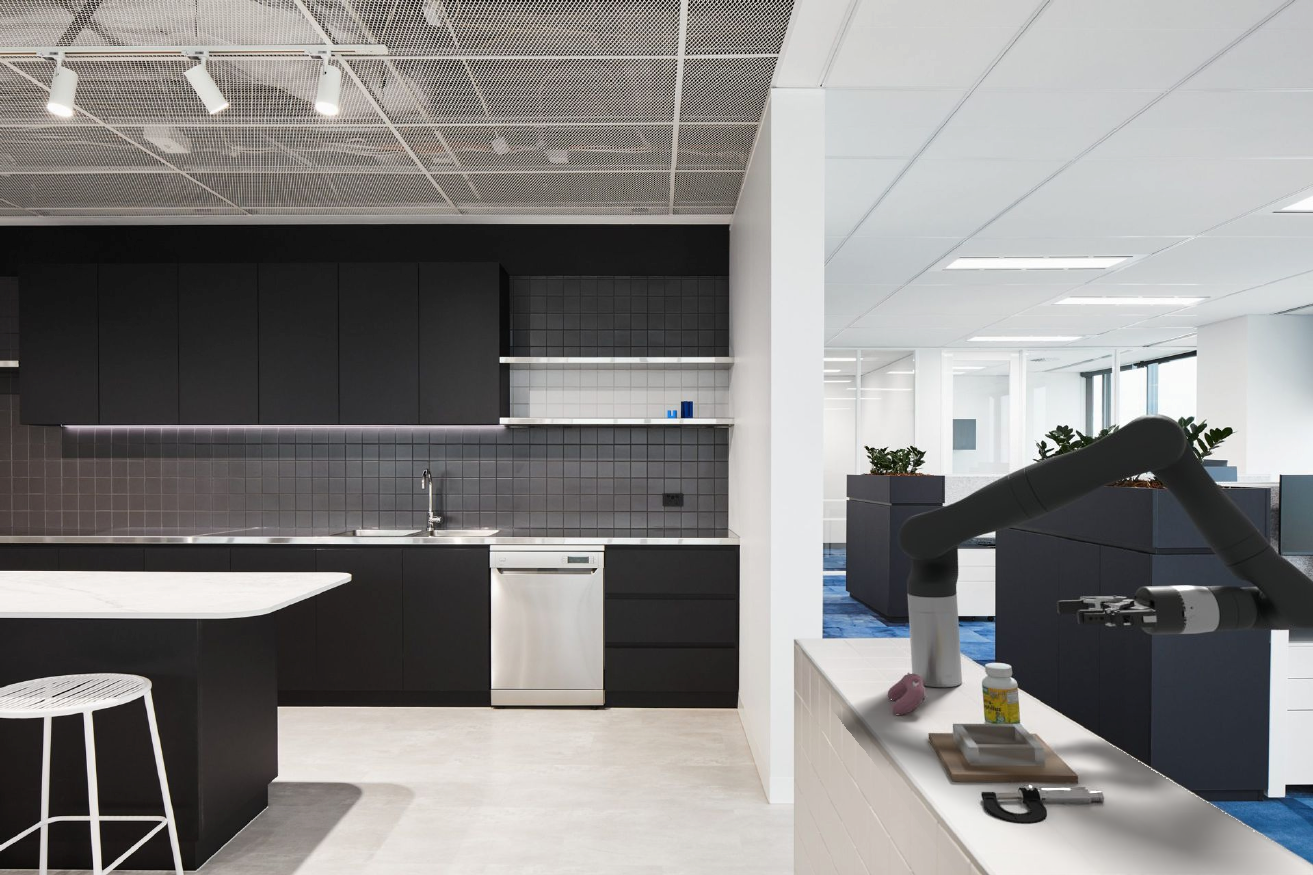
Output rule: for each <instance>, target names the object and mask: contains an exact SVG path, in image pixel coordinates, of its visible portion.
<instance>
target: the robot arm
mask: <svg viewBox="0 0 1313 875" xmlns="http://www.w3.org/2000/svg"><path fill="white" fill-rule="evenodd" d="M1185 432H1186V431H1185V429H1183V427H1182V425H1181V424H1180V423H1179V422H1178V421H1177V420H1175V419H1174V418H1172V417H1170V416H1167V415H1165V414H1159V413H1158V414H1157V413H1152V414H1151V413H1150V414H1145V415H1141V416H1139V417H1135V418H1134V419H1132V420H1131V421H1129V422H1128V423H1127V424H1125V425H1124V426H1122V427H1120V428H1118V429H1116V430H1115V431H1113V432H1111V433H1109V434H1108V435H1106V436H1104V437H1102V438H1101V439H1098V440H1096V441H1094V442H1093V443H1090V444H1088V445H1086V446H1084V447H1081V448H1078V449H1076V450H1073V451H1068V452H1067V453H1066V452H1065V453H1063V454H1059V455H1054V456H1052V457H1048V458H1045V459H1043V460H1040V461H1037V462H1034V463H1032V464H1029V465H1027V466H1024V467H1022V468H1020V469H1017V470H1016V471H1013V472H1011V473H1008V474H1007V475H1004V476H1002V477H1001V478H999V479H997V480H995V481H993V482H990V483H989V484H986V485H985V486H983V487H981V488H978V490H976V491H974V492H972V493H971V494H969V495H968V496H966V497H963V498H962V499H960V500H958V501H955V502H954V503H951V504H948V505H944V506H942V507H938V508H936V509H933V510H930V511H925V512H921V513H919V514H915V515H914V514H913V515H912V516H909V517H908V518H907V519H906V520H905V521H904V522H903V524H902V525H901V527H900V528H899V531H898V535H897V540H898V541H897V542H898V545H899V547H900V550H901V552H903V553H904V554H905V555H906V556H908V557H909V558H911V569H910V573H909V576H908V577H907V580H906V590H907V605H908V606H907V608H908V621H909V622H908V623H909V638H910V640H909V641H910V655H911V658H910V659H911V672H912V673H911V674H916V675H919V676H920V677H921V678H922V680H923V686H924V687H933V688H950V687H957V686H960V685H961V684H962V683H963V674H962V658H961V657H962V656H961V642H960V641H961V639H960V626H959V624H960V623H959V609H958V595H957V593H958V592H957V583H958V579H959V550H958V549H959V545H961V544H963V543H965V542H967V541H970V540H972V539H975V538H976V537H977V538H978V537H980V536H982V535H987V534H991V533H994V532H998V531H1002V530H1003V531H1004V530H1005V529H1009V528H1012V527H1016V526H1019V525H1022V524H1026V523H1028V522H1032V521H1034V520H1037V519H1039V518H1042V517H1045V516H1047V515H1050V514H1052V513H1054V512H1056V511H1059V510H1061V509H1062V508H1064V507H1067V506H1069V505H1071V504H1073V503H1075V502H1077V501H1079V500H1081V499H1083V498H1085V497H1086V496H1088V495H1090V494H1092V493H1093V492H1096V491H1097V490H1099V489H1101V488H1104V487H1106V486H1108V485H1111V484H1114V483H1118V482H1119V481H1124V480H1127V479H1129V478H1133V477H1137V476H1140V475H1143V474H1147V473H1151V474H1152V475H1153V476H1154V477H1155V478H1156V479H1157V480H1158V481H1160V483H1161V484H1162V485H1163V486H1164V487H1165V488H1166V489H1168V491H1169V492H1170V493H1171V494H1172V496H1173V497H1174V498H1175V499H1176V502H1177V501H1178V503H1179V505H1180V507H1181V508H1182V509H1183V510H1184V512H1185V513H1186V515H1187V516H1188V518H1189V519H1190V521H1191V523H1192V524H1193V526H1194V527H1195V529H1196V530H1197V531H1198V533H1199V535H1200V536H1201V537H1202V539H1203V540H1204V541H1205V543H1206V545H1208V547H1209V548H1210V549H1211V550H1212V552H1213V553H1214V555H1216V556H1217V558H1218V559H1219V561H1221V563H1222V564H1223V565H1224V566H1225V568H1226V569H1227V570H1228V571H1229V572H1230V574H1231V575H1233V576H1234V577H1235V578H1237V579H1238V580H1242V581H1245V582H1248V583H1251V584H1252V585H1253V586H1247V587H1246V586H1245V587H1240V586H1235V585H1210V586H1209V585H1207V586H1205V585H1204V586H1203V585H1202V586H1201V585H1187V584H1186V585H1185V584H1184V585H1157V586H1156V585H1152V586H1150V585H1149V586H1140V587H1139V588H1138V589H1137V590H1136V592H1135V594H1134V595H1135V596H1134V597H1133V599H1129V598H1128V597H1127V596H1117V595H1109V596H1108V595H1107V596H1106V595H1105V596H1103V595H1102V596H1101V595H1100V596H1095V595H1094V596H1092V595H1091V596H1086V595H1082V596H1080V597H1079V599H1071V600H1067V599H1066V600H1057V601H1056V608H1057V609H1056V610H1057V613H1058V614H1060V615H1076V619H1077V623H1078V624H1079V625H1082V626H1085V625H1086V626H1090V625H1091V626H1092V625H1093V626H1094V625H1096V626H1098V625H1105V626H1108V627H1115V628H1116V629H1119V630H1120V629H1121V630H1122V629H1134V628H1136V629H1137V628H1138V629H1139V628H1141V629H1142V630H1143V631H1144V632H1145V633H1147V634H1148V635H1182V634H1183V635H1184V634H1185V635H1187V634H1189V635H1190V634H1193V635H1194V634H1203V633H1208V632H1209V633H1210V632H1211V633H1213V632H1237V631H1245V630H1256V631H1257V630H1258V631H1259V630H1261V631H1292V630H1293V631H1297V630H1298V631H1300V630H1301V631H1302V630H1313V579H1312V578H1310V577H1309V576H1307V575H1306V574H1305V573H1304V572H1302V571H1301V569H1299V568H1298V567H1297V566H1296V565H1294V564H1293V563H1292V562H1291V561H1289V560H1288V559H1286V558H1285V557H1283V556H1282V555H1280V554H1279V553H1278V552H1277V551H1276V549H1275V548H1274V547H1273V545H1272V544H1271V543H1270V542H1269V541H1268V539H1267V538H1266V537H1265V536H1264V535H1263V533H1261V531H1260V530H1259V529H1258V528H1257V526H1256V525H1255V524H1254V523H1253V522H1252V521H1251V519H1250V518H1249V517H1248V516H1247V515H1246V514H1245V513H1244V512H1243V511H1242V509H1241V508H1239V506H1238V505H1237V504H1236V503H1235V502H1234V500H1232V499H1231V498H1230V497H1229V496H1228V495H1227V494H1226V492H1225V491H1224V490H1223V489H1222V488H1221V487H1220V486H1219V485H1218V483H1217V482H1216V481H1215V480H1214V479H1213V477H1212V476H1211V475H1210V474H1209V472H1208V471H1207V469H1206V468H1205V466H1204V465H1203V464H1202V463H1201V461H1200V460H1199V458H1198V456H1197V454H1196V453H1195V451H1194V450H1193V448H1192V446H1191V444H1190V442H1189V440H1188V439H1187V435H1186V433H1185ZM1090 604H1094V607H1090Z"/></svg>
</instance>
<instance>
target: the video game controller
mask: <svg viewBox="0 0 1313 875" xmlns="http://www.w3.org/2000/svg"><path fill="white" fill-rule="evenodd" d="M925 692H926V686H924V685H923V680H922V678H921V677H920V676H919V675H916V674H912V673H910V672H909V671H908V672H907V674H905V675H903V676H902V678H901V679H900V680H899V681H897V683H895V684H894V685H892V686H891V687H890V688H889V690H888V691H887V695H886V696H887V698H888V699H889V700H890V699H892V700H891V701H895V702H894V703H893V705H892V708H891V709H892V713H893V714H899V715H898V716H903V715H907V714H909V713H910V712H913V711H914V710H915V709H916V707H918V706H919V705H920V704H921V703H922V702H925V701H926V699H927V695H926V694H925Z"/></svg>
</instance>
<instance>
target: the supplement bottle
mask: <svg viewBox="0 0 1313 875" xmlns="http://www.w3.org/2000/svg"><path fill="white" fill-rule="evenodd" d="M984 667H985V668H984V670H985V671H984V672H985V674H986V675H987V676H985V677H983V678H982V680H981V688H982V700H983V701H982V702H983V714H984V715H983V716H984V724H1021V714H1020V712H1021V710H1020V699H1019V688H1018V687H1019V685H1018V682H1017V680H1016V679H1015V678H1013V677H1012V675H1013V669H1012V666H1011V665H1010V664H1007V663H1003V662H1002V663H1001V662H990V663H989V662H988V663H986V664H985V665H984Z"/></svg>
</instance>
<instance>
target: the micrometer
mask: <svg viewBox="0 0 1313 875" xmlns="http://www.w3.org/2000/svg"><path fill="white" fill-rule="evenodd" d="M1017 790H1018V791H1017V792H995V791H981V793H980V794H981V799H982V801H983V807H984V810H985V811H986V813H987V814H989V815H990V816H992V817H994V818H996V819H998V820H1001V821H1005V822H1008V823H1013V824H1025V825H1026V824H1037V823H1039V822H1043V821H1044V820H1046V819H1047V817H1048V810H1047V807H1046V805H1092V802H1098V803H1103V802H1104V801H1105V796H1104V792H1103V791H1101V790H1089V788H1087V787H1086V786H1078V787H1077V786H1074V787H1070V786H1069V787H1062V786H1051V787H1039V788H1037V787H1035V786H1034V785H1033V784H1031V783H1026V784H1025V783H1024V784H1023V787H1018V789H1017ZM999 800H1000V801H1001V800H1003V801H1008V800H1010V801H1012V800H1015V801H1016V800H1018V801H1020V802H1021V803H1022V804H1023V805H1025V806H1026V807H1027V809H1028V811H1026V812H1021V813H1020V812H1017V813H1016V812H1011V811H1009V810H1006V809H1005V808H1004V807H1002V806H1001V804H1000V802H999Z"/></svg>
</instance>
